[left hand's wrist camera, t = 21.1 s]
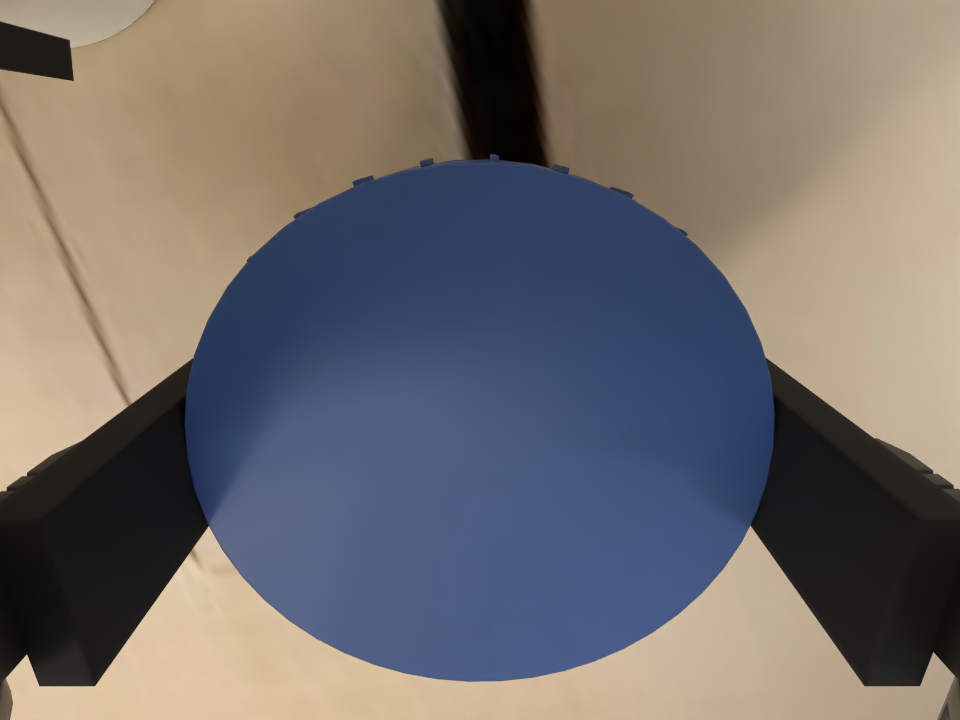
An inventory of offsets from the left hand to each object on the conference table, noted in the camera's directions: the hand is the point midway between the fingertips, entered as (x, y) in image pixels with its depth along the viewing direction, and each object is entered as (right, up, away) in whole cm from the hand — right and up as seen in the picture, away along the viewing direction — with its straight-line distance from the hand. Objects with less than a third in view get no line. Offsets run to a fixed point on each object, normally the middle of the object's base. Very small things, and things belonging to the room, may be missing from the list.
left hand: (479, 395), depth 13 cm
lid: (0, -1, -3) cm, 3 cm away
